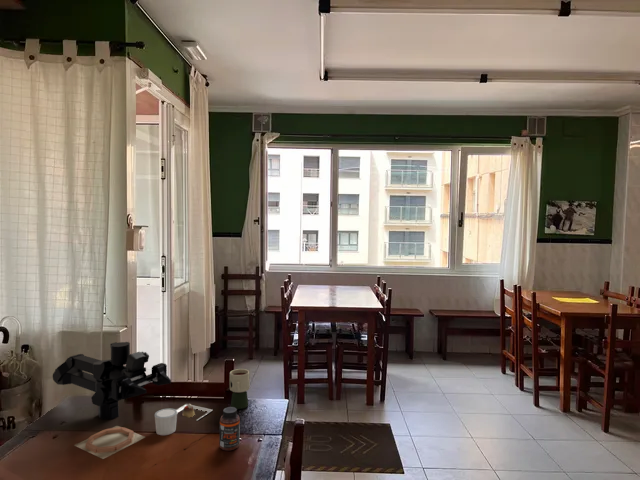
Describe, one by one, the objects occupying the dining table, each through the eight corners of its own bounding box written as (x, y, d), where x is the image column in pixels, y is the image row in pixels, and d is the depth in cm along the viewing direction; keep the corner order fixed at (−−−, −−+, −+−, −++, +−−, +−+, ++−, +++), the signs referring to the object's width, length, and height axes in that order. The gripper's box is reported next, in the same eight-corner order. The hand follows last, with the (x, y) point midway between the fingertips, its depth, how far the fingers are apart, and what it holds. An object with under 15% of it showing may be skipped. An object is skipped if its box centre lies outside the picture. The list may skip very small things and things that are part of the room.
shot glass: (170, 441, 132) (169, 418, 132) (149, 438, 134) (149, 416, 133) (181, 430, 139) (181, 409, 138) (162, 427, 140) (162, 407, 140)
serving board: (74, 449, 127) (73, 445, 127) (117, 429, 139) (117, 425, 139) (103, 463, 120) (103, 459, 120) (145, 440, 132) (145, 437, 132)
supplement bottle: (222, 453, 125) (222, 415, 125) (217, 443, 131) (217, 407, 130) (242, 448, 128) (242, 411, 128) (236, 439, 134) (236, 403, 133)
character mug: (231, 401, 161) (231, 366, 161) (250, 400, 162) (250, 366, 161) (227, 414, 150) (227, 377, 150) (247, 413, 151) (248, 377, 150)
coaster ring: (78, 444, 127) (78, 441, 127) (116, 427, 138) (116, 424, 138) (103, 456, 121) (103, 453, 121) (141, 437, 132) (141, 434, 132)
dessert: (162, 420, 146) (162, 407, 146) (186, 406, 157) (186, 393, 157) (190, 428, 142) (190, 413, 141) (213, 412, 153) (213, 399, 152)
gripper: (98, 360, 132) (131, 369, 124) (150, 344, 148) (182, 352, 140) (99, 395, 132) (132, 407, 125) (150, 376, 149) (182, 386, 141)
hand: (158, 386), depth 133 cm, fingers open, 9 cm apart
